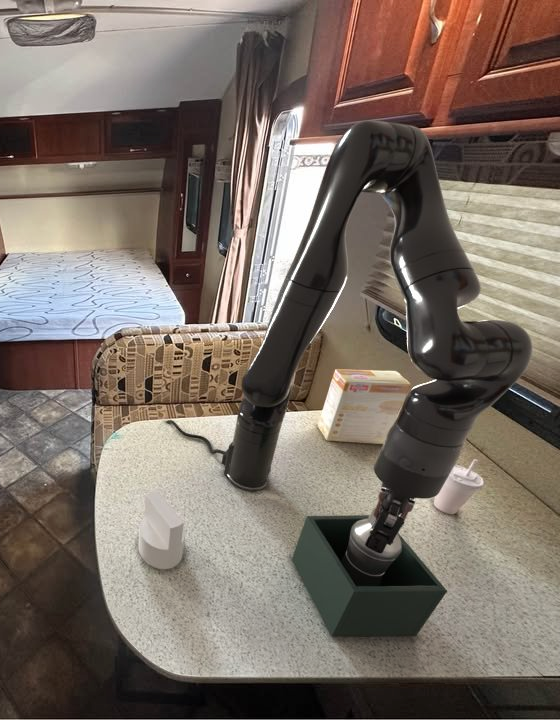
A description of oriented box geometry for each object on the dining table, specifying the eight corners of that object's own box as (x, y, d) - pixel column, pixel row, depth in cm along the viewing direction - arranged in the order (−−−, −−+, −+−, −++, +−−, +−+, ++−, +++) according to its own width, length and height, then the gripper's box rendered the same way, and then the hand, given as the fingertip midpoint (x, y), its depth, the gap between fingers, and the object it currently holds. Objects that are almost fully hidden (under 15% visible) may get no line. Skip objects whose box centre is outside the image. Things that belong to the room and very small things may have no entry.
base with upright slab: (130, 539, 79) (131, 499, 73) (165, 523, 82) (169, 484, 76) (154, 576, 71) (157, 535, 66) (192, 558, 74) (198, 517, 69)
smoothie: (472, 521, 79) (503, 472, 73) (437, 517, 80) (465, 468, 74) (451, 497, 85) (479, 450, 78) (419, 494, 86) (444, 447, 79)
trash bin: (331, 636, 61) (354, 591, 55) (291, 559, 73) (306, 515, 67) (415, 636, 61) (447, 591, 55) (361, 558, 73) (383, 514, 67)
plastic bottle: (374, 619, 63) (419, 542, 53) (327, 598, 66) (362, 522, 57) (371, 586, 67) (412, 510, 58) (328, 568, 71) (360, 493, 61)
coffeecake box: (372, 429, 107) (396, 370, 98) (386, 445, 101) (413, 384, 92) (316, 425, 109) (334, 367, 100) (326, 441, 103) (346, 381, 94)
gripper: (448, 500, 45) (399, 583, 53) (455, 441, 54) (412, 520, 62) (373, 470, 50) (338, 551, 57) (391, 421, 59) (359, 496, 66)
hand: (377, 534), depth 60 cm, fingers closed on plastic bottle, 5 cm apart
